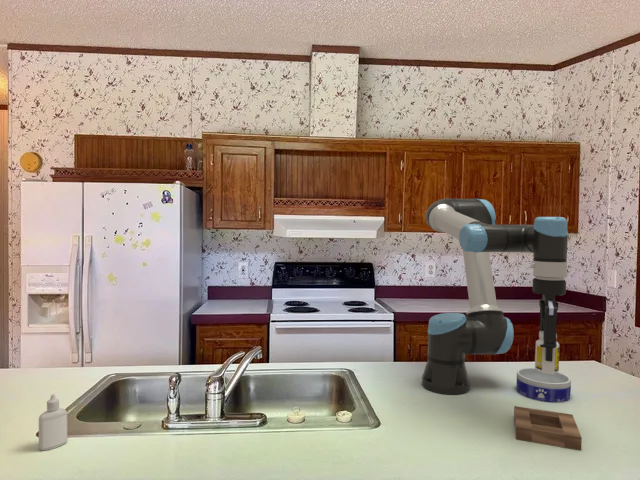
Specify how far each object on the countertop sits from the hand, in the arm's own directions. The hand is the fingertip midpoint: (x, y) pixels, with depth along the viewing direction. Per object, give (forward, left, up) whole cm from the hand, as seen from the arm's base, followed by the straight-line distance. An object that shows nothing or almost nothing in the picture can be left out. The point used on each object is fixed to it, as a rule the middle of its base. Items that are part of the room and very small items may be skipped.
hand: (546, 369), depth 114 cm
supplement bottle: (0, 0, -1) cm, 1 cm away
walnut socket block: (0, 0, -16) cm, 16 cm away
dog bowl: (-30, +2, -17) cm, 34 cm away
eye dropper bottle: (+53, -107, -16) cm, 121 cm away
